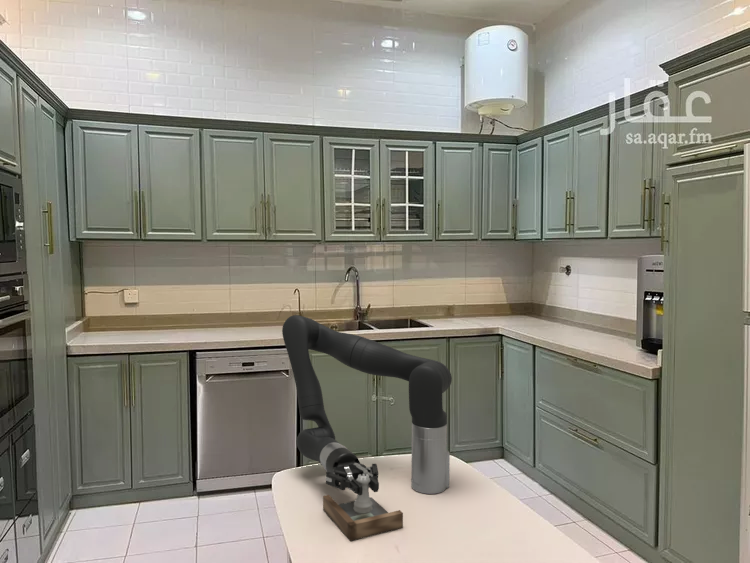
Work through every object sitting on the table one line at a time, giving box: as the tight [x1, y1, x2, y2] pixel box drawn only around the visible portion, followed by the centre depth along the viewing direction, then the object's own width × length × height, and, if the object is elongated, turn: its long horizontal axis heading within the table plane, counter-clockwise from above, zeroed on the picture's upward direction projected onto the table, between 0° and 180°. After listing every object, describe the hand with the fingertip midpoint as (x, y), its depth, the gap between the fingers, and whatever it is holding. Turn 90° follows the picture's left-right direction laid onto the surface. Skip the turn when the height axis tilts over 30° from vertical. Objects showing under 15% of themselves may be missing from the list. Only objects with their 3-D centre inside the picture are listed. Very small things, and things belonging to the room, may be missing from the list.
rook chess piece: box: [353, 474, 373, 514], centre depth 124 cm, size 4×4×8 cm
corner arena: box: [322, 494, 404, 542], centre depth 127 cm, size 13×16×4 cm
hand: (368, 489), depth 122 cm, fingers closed on rook chess piece, 3 cm apart
